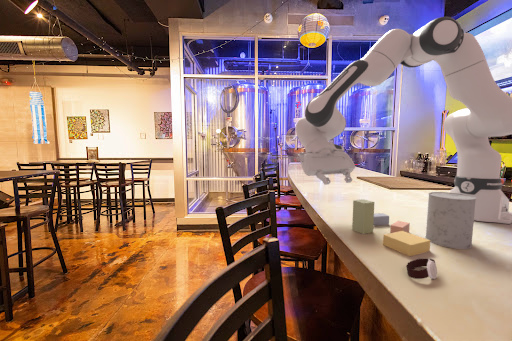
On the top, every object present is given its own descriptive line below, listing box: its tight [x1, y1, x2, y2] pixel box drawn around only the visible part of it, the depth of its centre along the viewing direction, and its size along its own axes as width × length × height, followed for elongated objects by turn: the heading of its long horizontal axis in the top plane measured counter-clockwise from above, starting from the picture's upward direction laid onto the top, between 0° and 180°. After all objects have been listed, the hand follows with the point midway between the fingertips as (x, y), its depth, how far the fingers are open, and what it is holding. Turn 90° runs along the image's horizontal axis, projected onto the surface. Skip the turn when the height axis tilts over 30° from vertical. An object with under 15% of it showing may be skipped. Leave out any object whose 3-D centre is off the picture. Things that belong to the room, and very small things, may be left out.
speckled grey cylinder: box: [424, 191, 476, 250], centre depth 62 cm, size 10×10×12 cm
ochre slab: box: [382, 231, 431, 257], centre depth 58 cm, size 7×7×3 cm
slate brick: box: [373, 213, 390, 226], centre depth 77 cm, size 6×3×3 cm, turn 99°
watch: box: [405, 257, 438, 280], centre depth 46 cm, size 8×5×4 cm, turn 126°
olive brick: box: [351, 198, 375, 235], centre depth 70 cm, size 4×4×9 cm
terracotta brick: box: [389, 220, 410, 233], centre depth 68 cm, size 6×3×3 cm, turn 131°
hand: (339, 182), depth 78 cm, fingers open, 8 cm apart
